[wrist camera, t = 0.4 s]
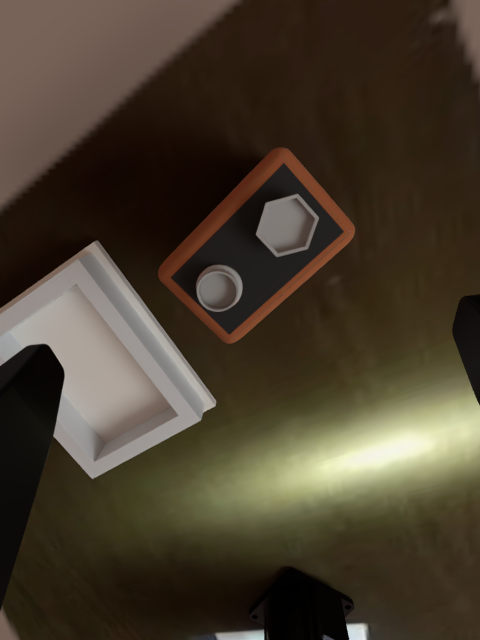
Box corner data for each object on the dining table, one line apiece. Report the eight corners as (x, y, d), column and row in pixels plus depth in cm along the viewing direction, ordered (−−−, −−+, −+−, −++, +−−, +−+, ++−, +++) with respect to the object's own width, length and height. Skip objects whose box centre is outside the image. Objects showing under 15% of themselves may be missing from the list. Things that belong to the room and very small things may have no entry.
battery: (324, 215, 23) (370, 236, 13) (240, 293, 24) (227, 361, 15) (273, 157, 22) (283, 135, 12) (190, 242, 23) (142, 280, 14)
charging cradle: (216, 401, 27) (211, 422, 24) (105, 461, 29) (91, 487, 27) (98, 240, 24) (79, 246, 21) (-17, 321, 26) (-46, 336, 23)
